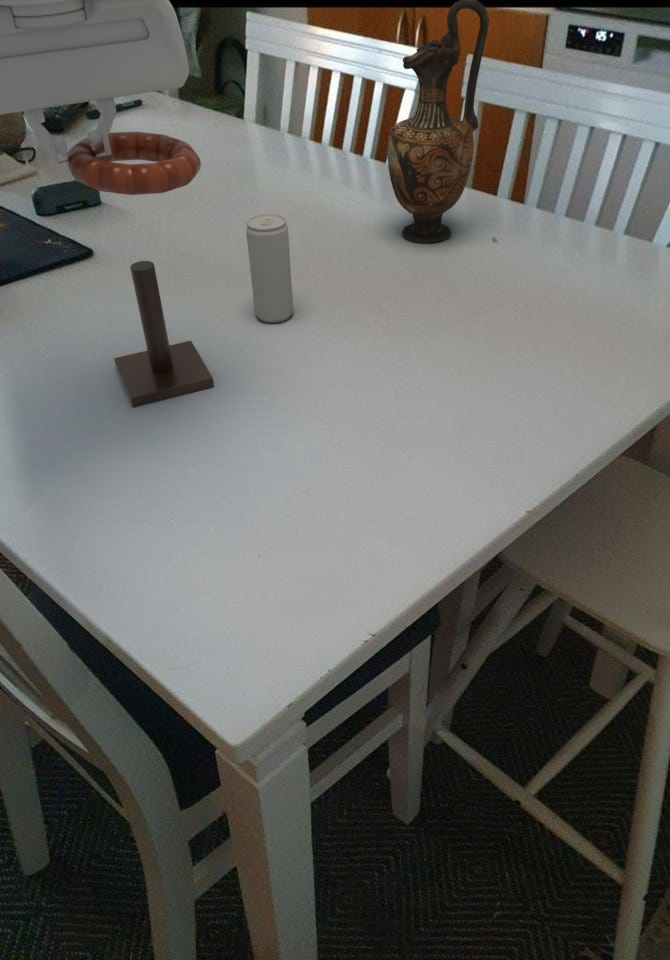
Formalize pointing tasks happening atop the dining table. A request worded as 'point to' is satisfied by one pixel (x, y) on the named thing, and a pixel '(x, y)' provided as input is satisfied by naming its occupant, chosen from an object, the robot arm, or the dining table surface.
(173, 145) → the ring
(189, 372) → the post
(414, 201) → the vase
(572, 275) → the dining table surface
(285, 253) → the beverage can
